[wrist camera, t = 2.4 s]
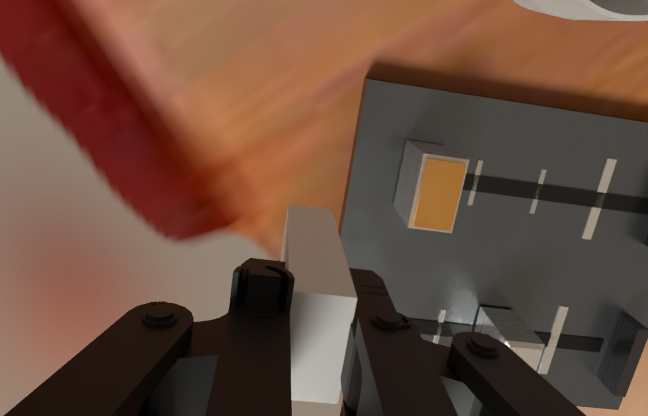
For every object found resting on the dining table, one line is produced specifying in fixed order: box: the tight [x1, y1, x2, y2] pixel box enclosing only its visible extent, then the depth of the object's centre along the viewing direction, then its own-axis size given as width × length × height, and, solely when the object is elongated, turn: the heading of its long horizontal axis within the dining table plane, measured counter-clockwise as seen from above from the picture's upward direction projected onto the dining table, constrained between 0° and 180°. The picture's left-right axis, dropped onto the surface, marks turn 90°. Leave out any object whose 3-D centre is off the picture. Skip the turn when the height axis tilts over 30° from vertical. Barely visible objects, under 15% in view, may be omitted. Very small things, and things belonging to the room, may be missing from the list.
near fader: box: [393, 140, 469, 233], centre depth 28 cm, size 4×2×4 cm, turn 171°
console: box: [338, 78, 648, 410], centre depth 32 cm, size 20×22×3 cm
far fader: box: [474, 307, 545, 371], centre depth 31 cm, size 4×2×4 cm, turn 171°
